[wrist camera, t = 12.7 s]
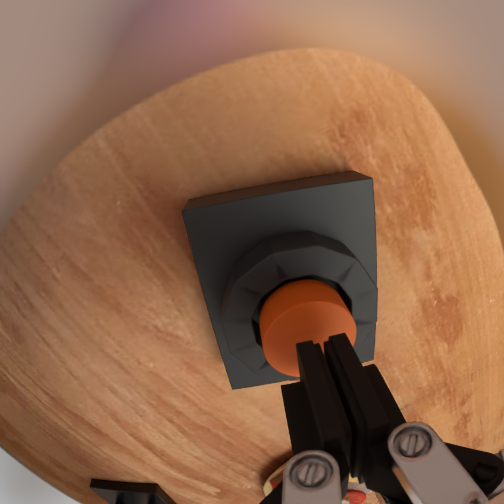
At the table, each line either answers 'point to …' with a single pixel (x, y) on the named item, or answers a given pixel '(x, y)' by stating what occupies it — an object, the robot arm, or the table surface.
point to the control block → (283, 259)
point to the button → (301, 321)
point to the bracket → (130, 493)
